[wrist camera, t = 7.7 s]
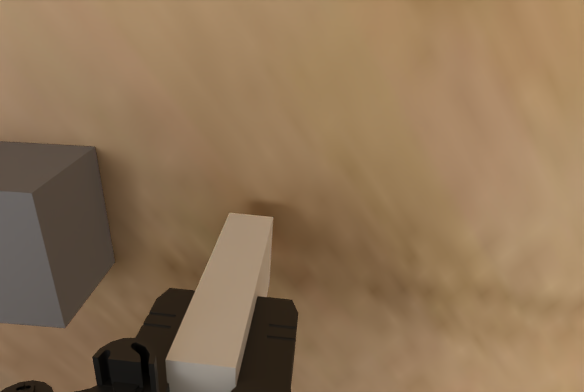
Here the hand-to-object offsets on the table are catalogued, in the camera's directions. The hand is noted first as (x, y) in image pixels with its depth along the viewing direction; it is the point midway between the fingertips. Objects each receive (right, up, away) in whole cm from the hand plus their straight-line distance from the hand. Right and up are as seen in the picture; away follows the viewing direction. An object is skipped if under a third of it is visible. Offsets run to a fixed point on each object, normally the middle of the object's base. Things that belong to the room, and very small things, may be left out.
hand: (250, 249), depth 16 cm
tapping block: (-8, +2, +2) cm, 9 cm away
